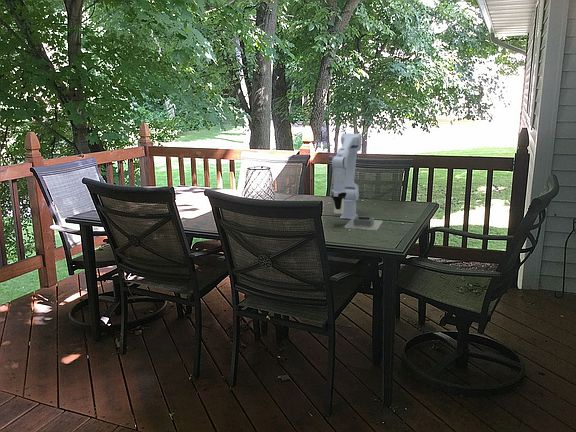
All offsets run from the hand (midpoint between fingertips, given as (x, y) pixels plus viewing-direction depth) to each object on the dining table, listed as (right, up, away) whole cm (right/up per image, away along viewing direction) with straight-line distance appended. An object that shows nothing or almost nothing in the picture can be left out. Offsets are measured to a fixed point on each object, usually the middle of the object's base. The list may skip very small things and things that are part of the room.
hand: (339, 208), depth 250 cm
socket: (+12, -8, +2) cm, 15 cm away
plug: (0, -2, +1) cm, 2 cm away
